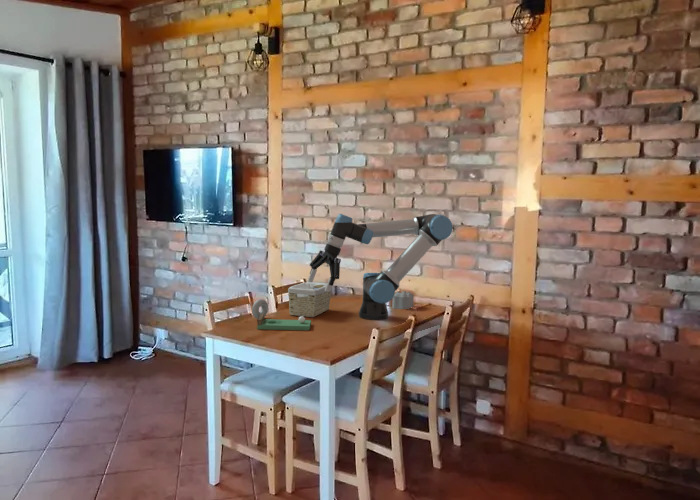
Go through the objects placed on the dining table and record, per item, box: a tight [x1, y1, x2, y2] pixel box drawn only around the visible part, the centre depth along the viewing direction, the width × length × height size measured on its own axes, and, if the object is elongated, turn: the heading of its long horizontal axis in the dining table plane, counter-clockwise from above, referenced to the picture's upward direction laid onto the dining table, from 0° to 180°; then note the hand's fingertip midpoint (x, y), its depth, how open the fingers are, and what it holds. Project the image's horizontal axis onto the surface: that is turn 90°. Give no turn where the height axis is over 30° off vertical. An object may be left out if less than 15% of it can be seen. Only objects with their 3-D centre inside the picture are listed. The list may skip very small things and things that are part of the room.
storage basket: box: [287, 281, 333, 318], centre depth 303 cm, size 24×16×15 cm
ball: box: [297, 316, 306, 323], centre depth 271 cm, size 3×3×3 cm
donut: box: [251, 298, 269, 320], centre depth 286 cm, size 10×4×10 cm, turn 144°
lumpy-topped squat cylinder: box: [391, 290, 414, 310], centre depth 323 cm, size 10×13×9 cm
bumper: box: [256, 314, 266, 326], centre depth 271 cm, size 2×12×2 cm, turn 0°
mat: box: [256, 318, 312, 331], centre depth 272 cm, size 24×12×2 cm, turn 90°
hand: (318, 286), depth 277 cm, fingers open, 13 cm apart
